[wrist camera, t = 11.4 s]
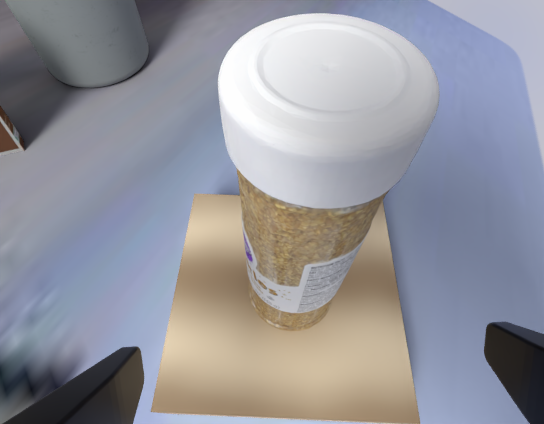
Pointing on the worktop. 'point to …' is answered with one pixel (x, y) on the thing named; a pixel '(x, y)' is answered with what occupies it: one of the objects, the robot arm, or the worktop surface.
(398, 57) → the sprinkles bottle
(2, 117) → the food container
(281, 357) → the oak stand
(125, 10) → the water bottle
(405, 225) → the worktop surface
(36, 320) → the worktop surface
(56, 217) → the worktop surface
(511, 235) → the worktop surface
